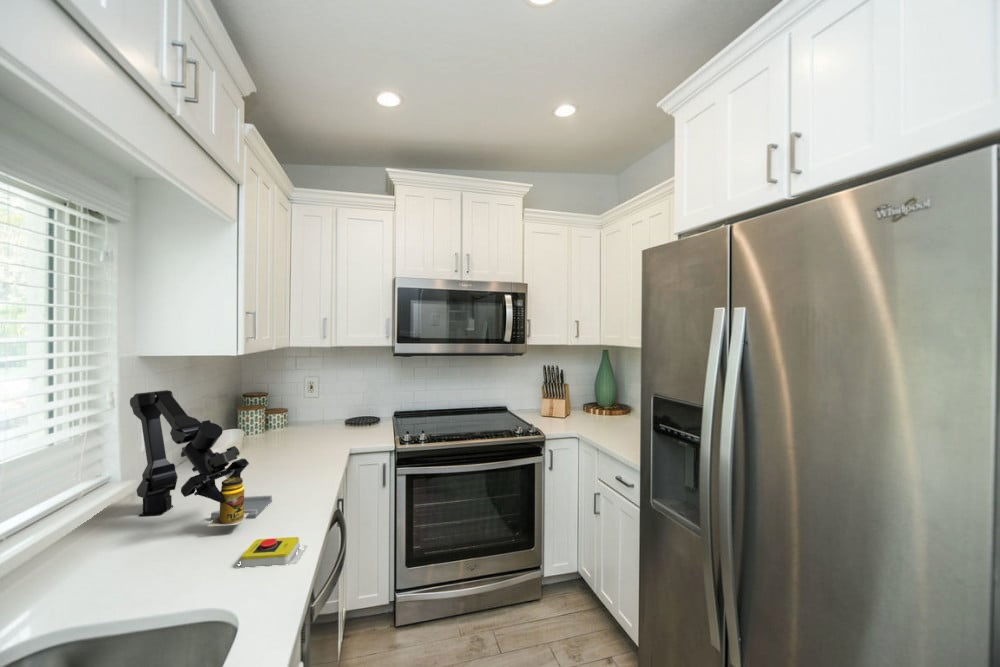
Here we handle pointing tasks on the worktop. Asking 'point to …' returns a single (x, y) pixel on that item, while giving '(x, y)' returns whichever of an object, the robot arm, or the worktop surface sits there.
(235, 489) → the condiment
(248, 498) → the guide rails
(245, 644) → the worktop surface
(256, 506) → the mounting plate
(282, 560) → the emergency button
